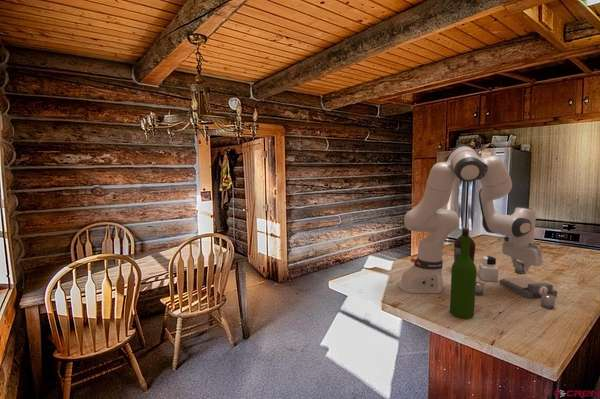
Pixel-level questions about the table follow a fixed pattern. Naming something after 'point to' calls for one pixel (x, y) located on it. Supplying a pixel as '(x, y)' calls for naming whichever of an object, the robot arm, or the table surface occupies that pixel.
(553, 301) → the cylinder
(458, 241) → the olive oil
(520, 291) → the scale
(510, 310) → the table surface
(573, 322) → the table surface
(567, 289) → the table surface
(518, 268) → the cylinder
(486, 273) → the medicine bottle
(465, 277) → the wine bottle
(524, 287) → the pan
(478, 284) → the cylinder
